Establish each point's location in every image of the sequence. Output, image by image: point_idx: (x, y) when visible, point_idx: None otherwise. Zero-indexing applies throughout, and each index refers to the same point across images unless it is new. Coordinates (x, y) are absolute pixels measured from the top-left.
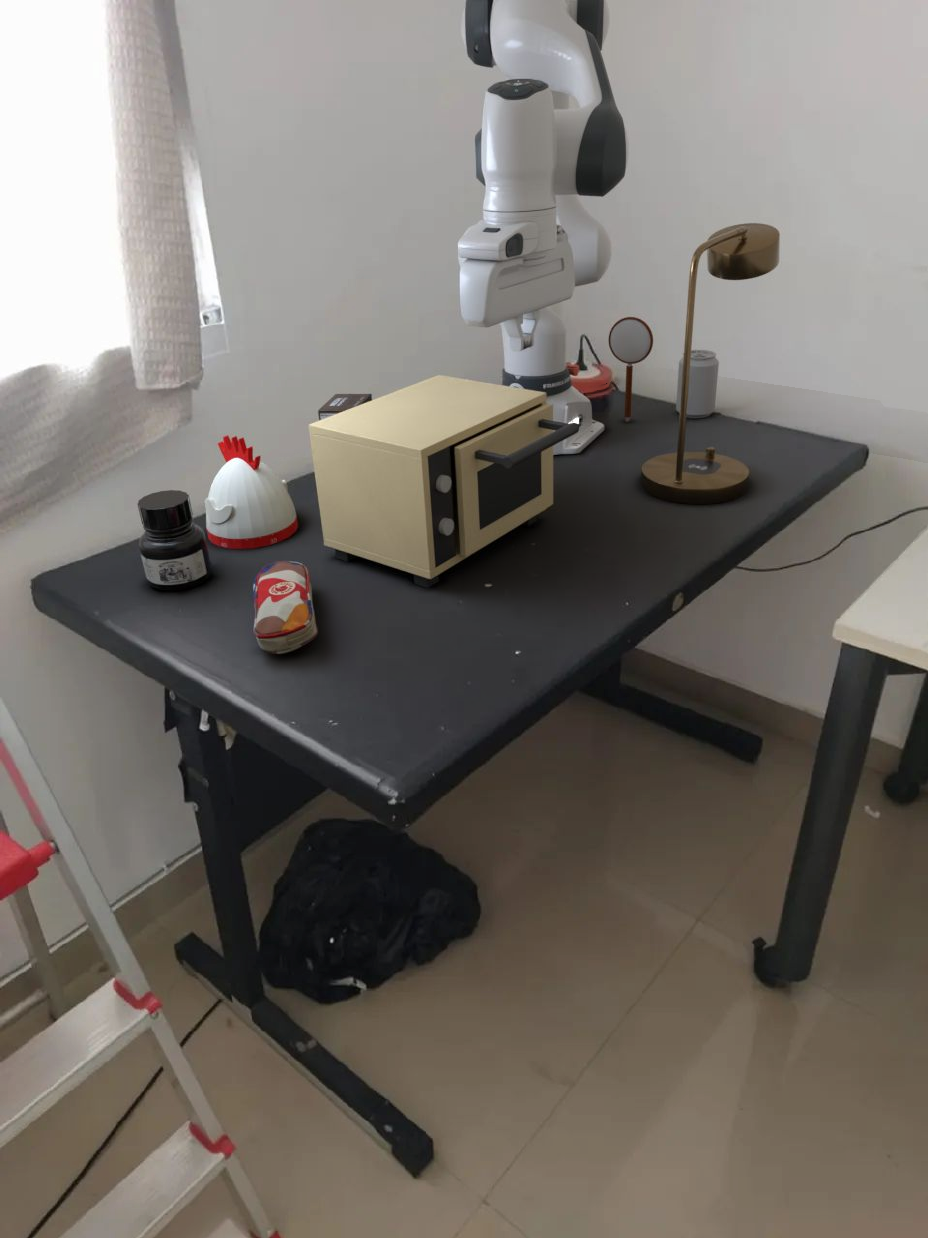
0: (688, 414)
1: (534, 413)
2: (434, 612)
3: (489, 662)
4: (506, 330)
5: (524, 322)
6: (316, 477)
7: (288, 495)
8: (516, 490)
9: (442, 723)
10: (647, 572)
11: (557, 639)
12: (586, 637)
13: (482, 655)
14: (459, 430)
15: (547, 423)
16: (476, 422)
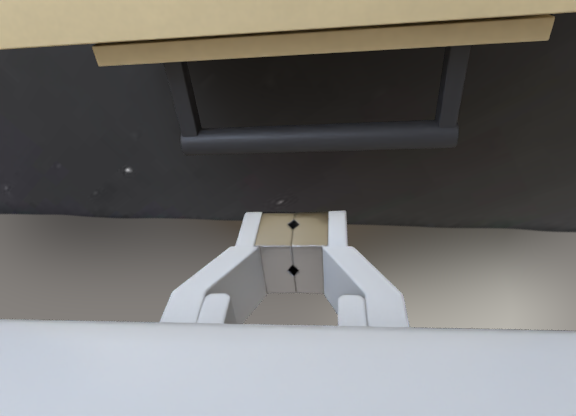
0: None
1: (438, 46)
2: None
3: (94, 160)
4: (203, 268)
5: (349, 289)
6: None
7: None
8: None
9: (8, 184)
10: (359, 186)
11: (175, 186)
12: (198, 204)
13: (96, 147)
14: (117, 30)
15: (445, 70)
16: (197, 23)
